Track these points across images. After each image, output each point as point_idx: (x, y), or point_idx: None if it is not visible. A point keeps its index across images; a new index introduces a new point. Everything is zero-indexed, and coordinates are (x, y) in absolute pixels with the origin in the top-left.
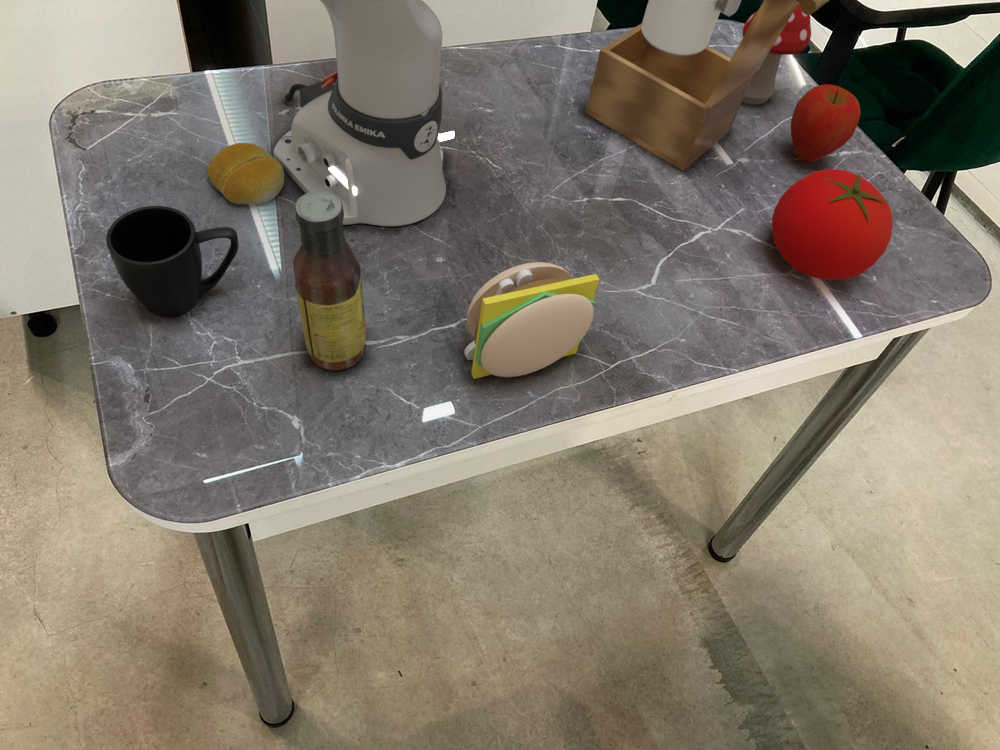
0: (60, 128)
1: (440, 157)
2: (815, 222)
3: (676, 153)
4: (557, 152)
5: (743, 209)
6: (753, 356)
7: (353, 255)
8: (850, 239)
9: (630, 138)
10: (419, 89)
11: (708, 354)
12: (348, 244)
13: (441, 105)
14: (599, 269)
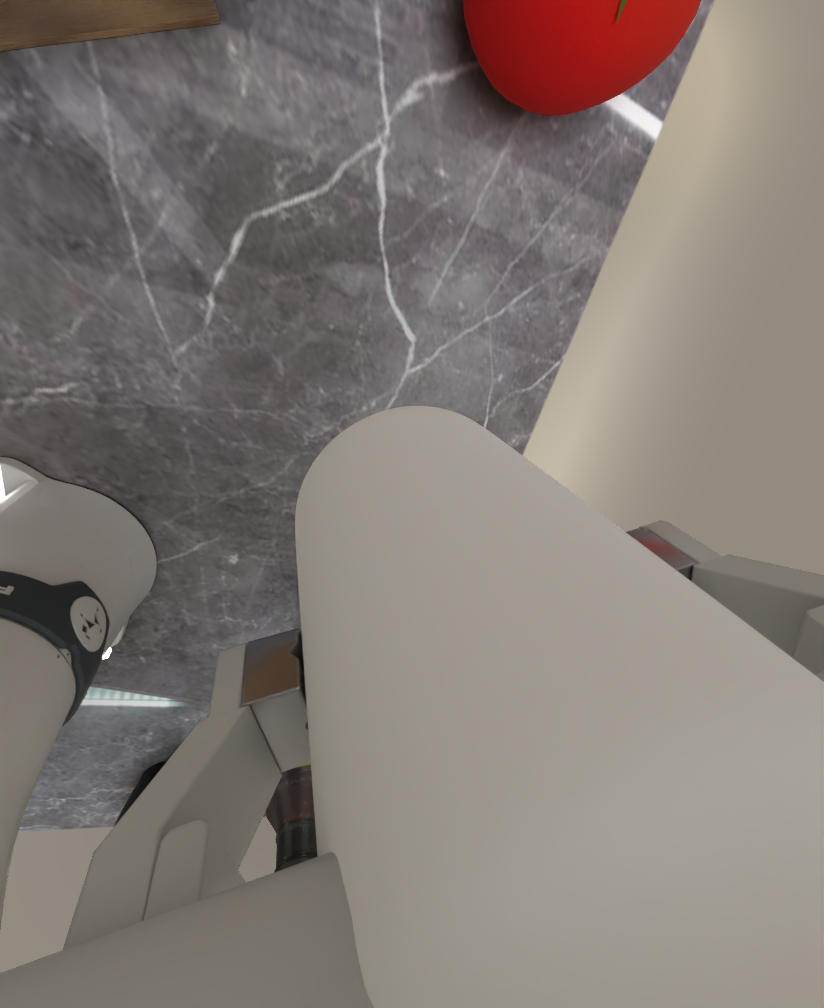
0: None
1: (62, 520)
2: (598, 78)
3: (185, 12)
4: (59, 250)
5: (378, 8)
6: (572, 314)
7: (311, 787)
8: (664, 53)
9: (65, 42)
10: (50, 710)
11: (533, 364)
12: (304, 800)
13: (34, 608)
14: (351, 390)
